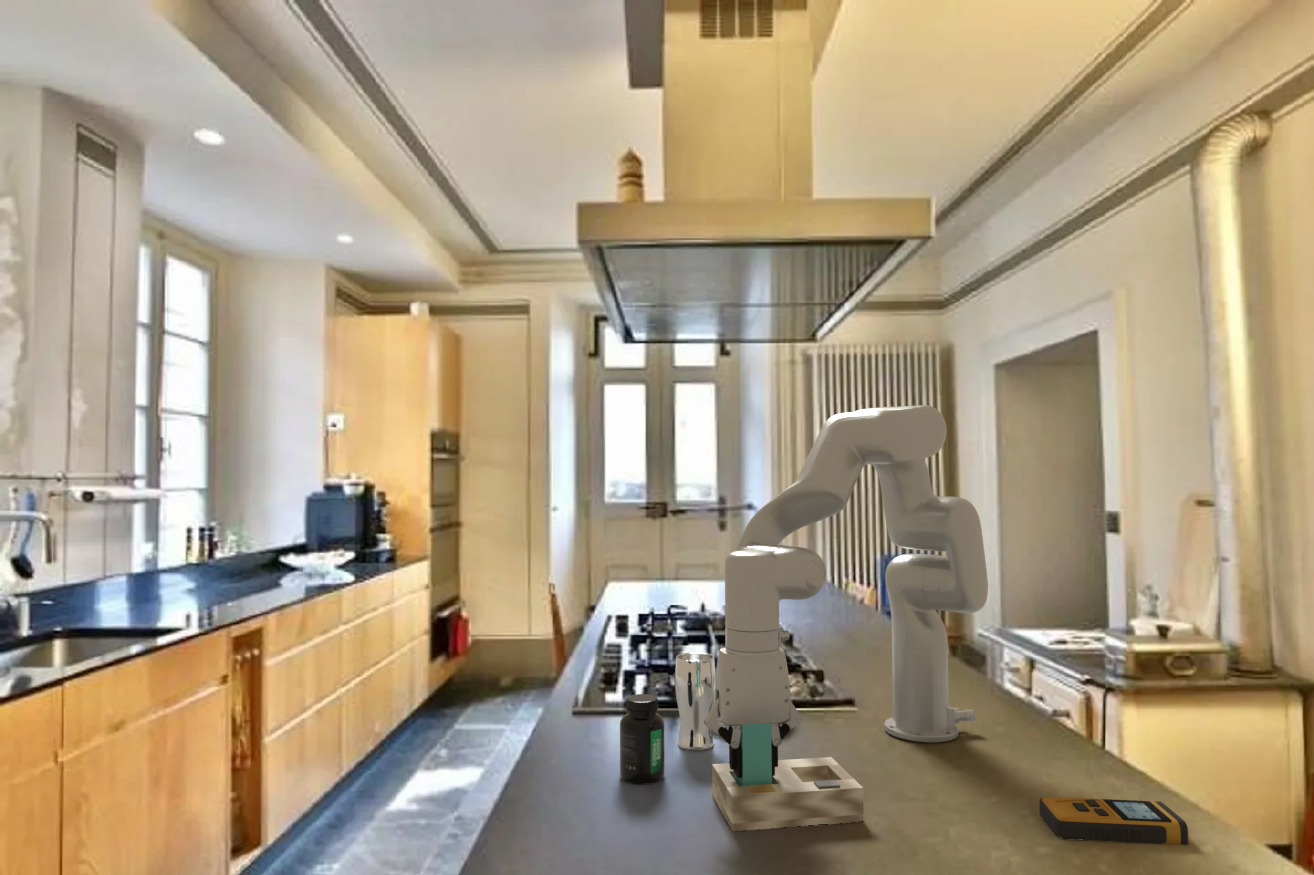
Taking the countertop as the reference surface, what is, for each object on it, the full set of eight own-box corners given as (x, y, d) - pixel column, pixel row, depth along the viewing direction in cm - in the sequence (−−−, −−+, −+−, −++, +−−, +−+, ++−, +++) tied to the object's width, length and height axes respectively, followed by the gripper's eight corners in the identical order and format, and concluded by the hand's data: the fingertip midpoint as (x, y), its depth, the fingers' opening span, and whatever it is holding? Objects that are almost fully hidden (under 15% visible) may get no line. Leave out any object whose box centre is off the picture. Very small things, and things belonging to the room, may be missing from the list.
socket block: (831, 787, 123) (831, 754, 123) (863, 821, 111) (863, 785, 112) (712, 795, 120) (712, 762, 121) (732, 831, 109) (732, 794, 109)
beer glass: (713, 753, 138) (712, 662, 139) (672, 750, 140) (671, 660, 140) (718, 739, 145) (717, 652, 146) (679, 737, 147) (678, 651, 147)
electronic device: (1037, 817, 114) (1036, 792, 114) (1158, 822, 112) (1157, 796, 112) (1058, 844, 106) (1057, 817, 106) (1190, 849, 104) (1189, 822, 104)
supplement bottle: (668, 783, 125) (667, 703, 126) (622, 786, 124) (622, 705, 125) (660, 767, 132) (660, 691, 132) (617, 770, 131) (617, 693, 131)
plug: (763, 785, 118) (763, 709, 118) (772, 796, 114) (771, 718, 114) (736, 787, 117) (735, 711, 117) (743, 798, 113) (742, 719, 114)
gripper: (801, 632, 121) (802, 760, 120) (688, 637, 119) (689, 767, 118) (819, 643, 114) (820, 779, 113) (699, 648, 111) (700, 787, 111)
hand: (753, 771), depth 115 cm, fingers closed on plug, 3 cm apart
